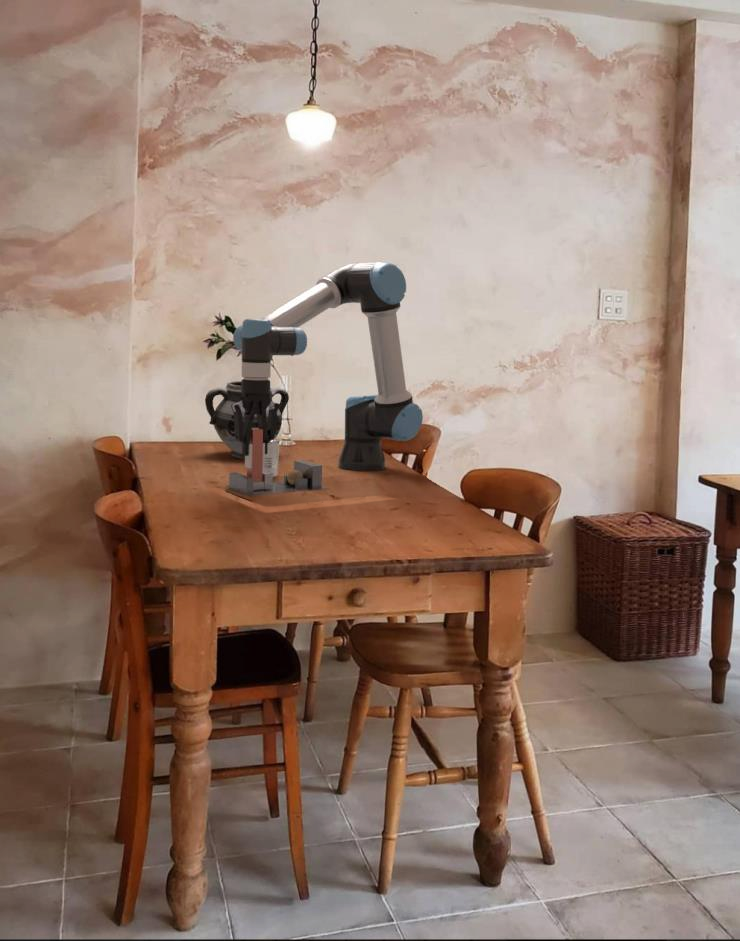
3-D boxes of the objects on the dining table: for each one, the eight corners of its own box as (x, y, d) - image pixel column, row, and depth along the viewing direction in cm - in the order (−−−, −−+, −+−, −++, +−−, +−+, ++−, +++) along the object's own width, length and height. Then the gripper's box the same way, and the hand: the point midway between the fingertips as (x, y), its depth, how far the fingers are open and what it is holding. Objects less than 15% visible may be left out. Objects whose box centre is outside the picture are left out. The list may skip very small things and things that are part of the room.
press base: (302, 484, 264) (302, 458, 263) (328, 493, 253) (329, 466, 251) (225, 491, 250) (225, 464, 249) (249, 501, 239) (250, 472, 238)
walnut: (297, 483, 257) (298, 468, 256) (306, 486, 254) (306, 470, 253) (284, 484, 255) (284, 469, 254) (292, 487, 251) (292, 471, 250)
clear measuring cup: (273, 484, 264) (274, 442, 262) (245, 481, 265) (245, 440, 263) (283, 478, 273) (284, 437, 271) (256, 476, 275) (257, 436, 273)
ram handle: (264, 485, 251) (265, 427, 249) (272, 488, 248) (273, 429, 245) (242, 487, 247) (242, 428, 245) (249, 490, 244) (250, 430, 241)
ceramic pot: (276, 450, 326) (277, 379, 322) (299, 460, 306) (301, 384, 302) (195, 453, 314) (196, 379, 310) (214, 464, 294) (215, 385, 289)
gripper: (275, 377, 250) (274, 463, 254) (221, 377, 241) (220, 467, 245) (289, 379, 244) (288, 467, 248) (234, 380, 235) (233, 471, 238)
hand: (254, 467), depth 246 cm, fingers closed on ram handle, 3 cm apart
